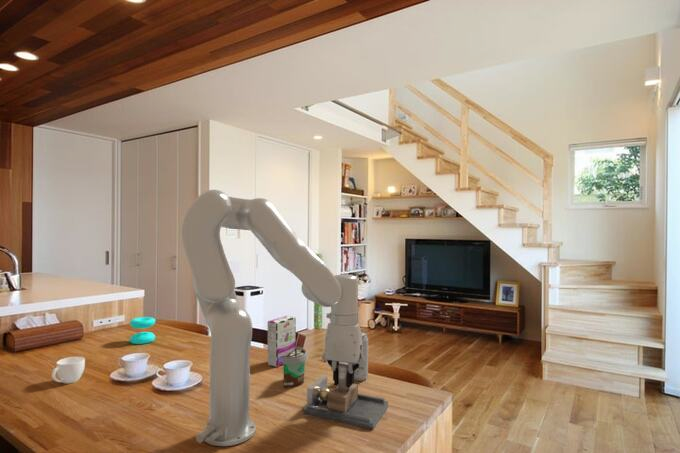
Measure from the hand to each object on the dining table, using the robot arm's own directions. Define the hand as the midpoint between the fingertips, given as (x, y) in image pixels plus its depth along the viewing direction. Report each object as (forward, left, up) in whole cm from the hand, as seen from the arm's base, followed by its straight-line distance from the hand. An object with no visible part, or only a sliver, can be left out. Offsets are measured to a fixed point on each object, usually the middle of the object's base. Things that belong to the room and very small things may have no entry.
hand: (343, 384), depth 112 cm
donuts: (+25, +105, -8) cm, 108 cm away
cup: (-18, +89, -7) cm, 91 cm away
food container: (+12, +21, -7) cm, 25 cm away
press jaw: (0, 0, -5) cm, 5 cm away
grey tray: (0, -1, -7) cm, 7 cm away
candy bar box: (+27, +36, -7) cm, 46 cm away
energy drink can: (+24, +4, -7) cm, 25 cm away
